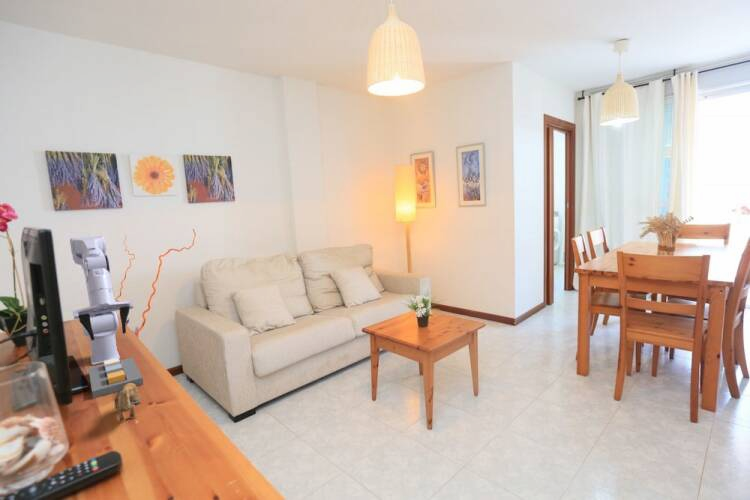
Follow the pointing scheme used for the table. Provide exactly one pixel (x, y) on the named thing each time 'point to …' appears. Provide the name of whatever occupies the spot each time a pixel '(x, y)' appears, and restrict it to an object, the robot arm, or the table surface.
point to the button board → (103, 388)
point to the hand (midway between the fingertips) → (108, 335)
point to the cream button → (111, 362)
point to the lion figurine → (127, 401)
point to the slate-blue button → (113, 369)
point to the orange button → (116, 377)
